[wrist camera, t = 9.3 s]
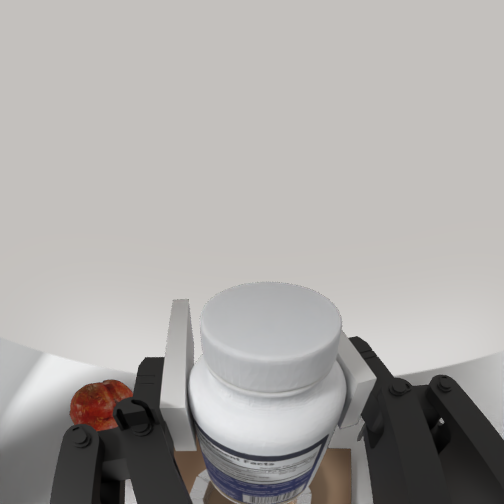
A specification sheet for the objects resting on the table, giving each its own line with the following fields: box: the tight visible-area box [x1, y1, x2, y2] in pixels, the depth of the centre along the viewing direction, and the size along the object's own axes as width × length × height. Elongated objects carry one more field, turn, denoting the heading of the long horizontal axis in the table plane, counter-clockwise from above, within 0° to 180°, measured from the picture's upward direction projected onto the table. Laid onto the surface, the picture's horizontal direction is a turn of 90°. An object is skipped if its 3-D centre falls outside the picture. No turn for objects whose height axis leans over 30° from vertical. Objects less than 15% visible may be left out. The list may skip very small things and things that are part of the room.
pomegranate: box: [70, 380, 133, 431], centre depth 20 cm, size 7×7×10 cm
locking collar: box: [190, 469, 312, 504], centre depth 14 cm, size 8×8×2 cm
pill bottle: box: [187, 282, 346, 504], centre depth 9 cm, size 5×5×10 cm
